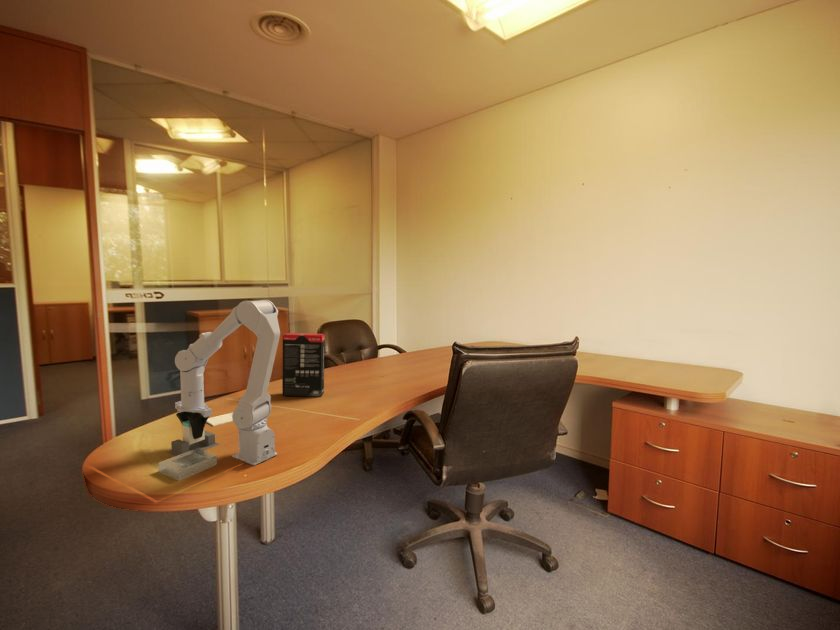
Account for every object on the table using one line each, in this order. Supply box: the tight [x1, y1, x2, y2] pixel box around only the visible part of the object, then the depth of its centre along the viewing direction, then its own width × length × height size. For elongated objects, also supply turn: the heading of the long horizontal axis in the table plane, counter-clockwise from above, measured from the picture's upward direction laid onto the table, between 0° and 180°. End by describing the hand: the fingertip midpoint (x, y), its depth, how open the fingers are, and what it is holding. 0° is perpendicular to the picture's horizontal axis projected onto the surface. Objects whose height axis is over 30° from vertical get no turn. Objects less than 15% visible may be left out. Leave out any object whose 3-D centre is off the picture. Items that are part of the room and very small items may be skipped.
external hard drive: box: [206, 412, 233, 427], centre depth 137 cm, size 2×8×12 cm
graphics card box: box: [281, 332, 326, 398], centre depth 168 cm, size 17×7×27 cm, turn 94°
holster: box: [166, 430, 220, 456], centre depth 112 cm, size 8×11×4 cm
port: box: [158, 448, 218, 482], centre depth 100 cm, size 9×10×3 cm
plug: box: [181, 420, 206, 445], centre depth 112 cm, size 3×4×6 cm
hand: (193, 436), depth 112 cm, fingers closed on plug, 3 cm apart
